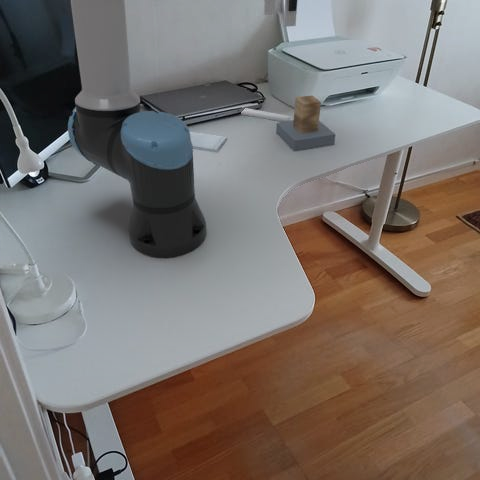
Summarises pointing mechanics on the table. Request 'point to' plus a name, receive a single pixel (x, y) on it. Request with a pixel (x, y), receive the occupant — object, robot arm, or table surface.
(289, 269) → the table surface
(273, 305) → the table surface
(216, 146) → the hard drive
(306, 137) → the grey base
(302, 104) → the oak block
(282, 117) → the marker
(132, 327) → the table surface
